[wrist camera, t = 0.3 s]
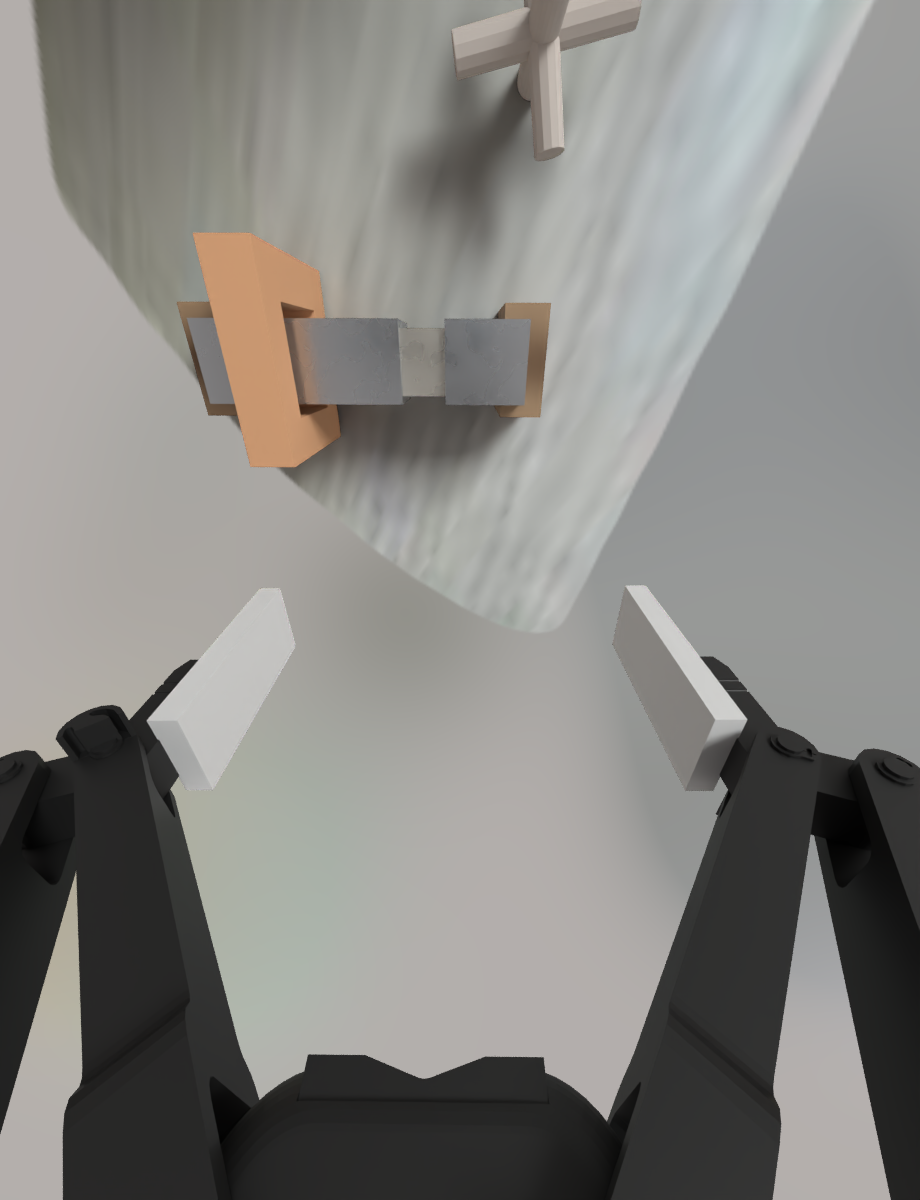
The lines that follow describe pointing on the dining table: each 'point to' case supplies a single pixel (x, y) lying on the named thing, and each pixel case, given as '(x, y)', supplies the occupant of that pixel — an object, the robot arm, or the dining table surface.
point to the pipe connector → (540, 52)
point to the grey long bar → (388, 360)
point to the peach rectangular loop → (265, 344)
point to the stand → (532, 311)
